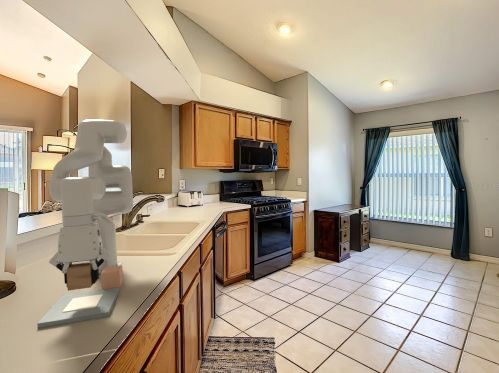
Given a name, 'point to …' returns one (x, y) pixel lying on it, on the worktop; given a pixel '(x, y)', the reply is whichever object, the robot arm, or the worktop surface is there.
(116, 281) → the terracotta block
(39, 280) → the worktop surface
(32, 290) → the worktop surface
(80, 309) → the baseplate
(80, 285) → the walnut block
